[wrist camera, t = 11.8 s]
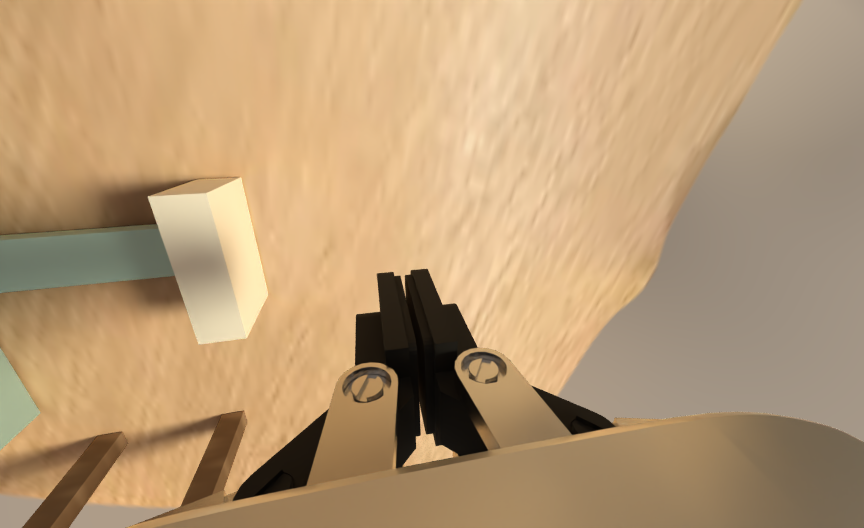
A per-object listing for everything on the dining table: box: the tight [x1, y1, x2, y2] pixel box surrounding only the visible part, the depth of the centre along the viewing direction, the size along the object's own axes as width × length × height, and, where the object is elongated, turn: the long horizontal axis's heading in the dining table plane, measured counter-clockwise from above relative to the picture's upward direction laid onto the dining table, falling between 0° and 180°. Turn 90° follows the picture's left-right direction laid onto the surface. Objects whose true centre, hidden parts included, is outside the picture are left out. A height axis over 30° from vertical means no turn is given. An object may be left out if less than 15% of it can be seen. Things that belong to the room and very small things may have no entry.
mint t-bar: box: [0, 177, 268, 450], centre depth 18 cm, size 17×22×5 cm
